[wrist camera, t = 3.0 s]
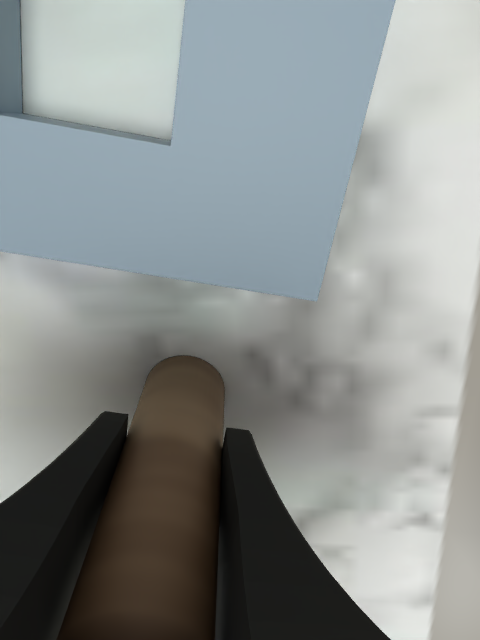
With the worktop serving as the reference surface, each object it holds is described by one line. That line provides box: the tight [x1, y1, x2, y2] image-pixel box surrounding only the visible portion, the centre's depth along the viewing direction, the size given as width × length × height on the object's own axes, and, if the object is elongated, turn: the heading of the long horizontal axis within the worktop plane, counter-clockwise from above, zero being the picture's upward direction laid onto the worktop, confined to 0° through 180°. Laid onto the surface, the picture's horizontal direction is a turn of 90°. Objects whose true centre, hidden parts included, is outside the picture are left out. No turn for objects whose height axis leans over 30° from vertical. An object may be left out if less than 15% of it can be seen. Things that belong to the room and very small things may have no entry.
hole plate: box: [0, 0, 395, 301], centre depth 10 cm, size 10×12×2 cm
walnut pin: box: [57, 356, 225, 640], centre depth 11 cm, size 3×3×8 cm
